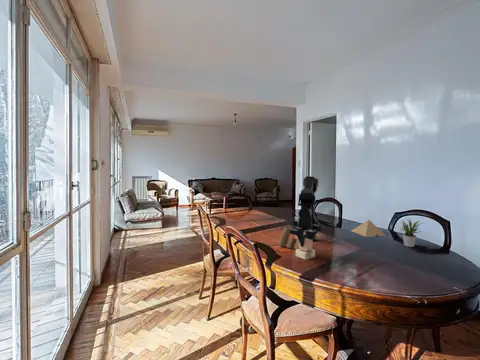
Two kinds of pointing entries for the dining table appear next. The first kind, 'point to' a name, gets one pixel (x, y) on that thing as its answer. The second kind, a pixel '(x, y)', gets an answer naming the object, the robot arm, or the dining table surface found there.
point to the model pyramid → (368, 230)
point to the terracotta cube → (307, 245)
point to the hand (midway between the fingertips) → (305, 245)
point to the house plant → (410, 233)
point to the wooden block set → (291, 240)
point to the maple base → (305, 254)
